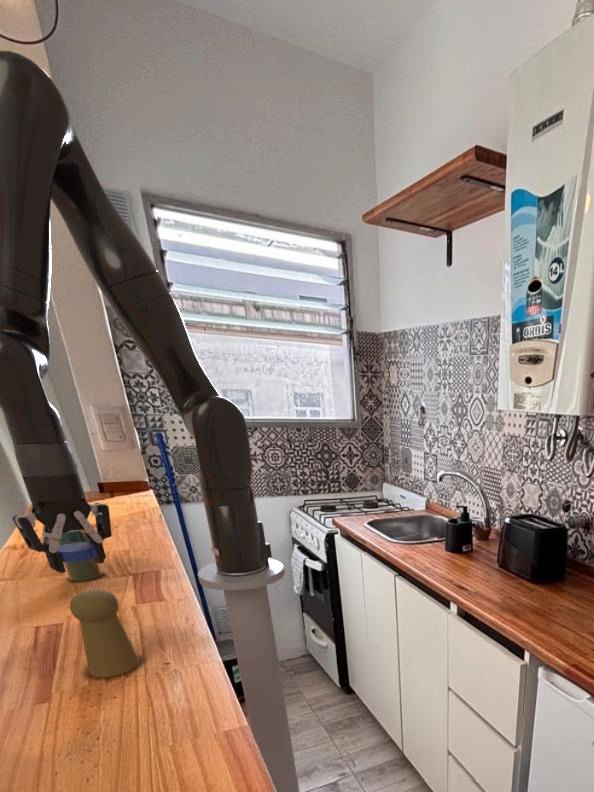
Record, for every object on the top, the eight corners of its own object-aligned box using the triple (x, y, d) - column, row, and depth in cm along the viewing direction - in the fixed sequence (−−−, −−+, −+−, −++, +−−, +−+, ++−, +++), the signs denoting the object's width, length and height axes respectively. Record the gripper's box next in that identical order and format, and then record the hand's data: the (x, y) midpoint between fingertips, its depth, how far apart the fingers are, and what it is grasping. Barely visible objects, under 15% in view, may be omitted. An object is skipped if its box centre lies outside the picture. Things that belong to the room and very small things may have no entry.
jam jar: (92, 570, 106) (77, 524, 101) (107, 575, 103) (92, 528, 99) (64, 578, 101) (47, 529, 97) (79, 583, 99) (62, 534, 95)
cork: (149, 659, 75) (129, 588, 70) (114, 680, 69) (89, 604, 64) (114, 653, 76) (92, 583, 71) (77, 673, 70) (50, 599, 65)
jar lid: (51, 562, 89) (47, 552, 88) (66, 552, 94) (63, 542, 93) (89, 561, 90) (86, 551, 90) (102, 551, 95) (99, 541, 95)
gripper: (83, 463, 93) (109, 553, 100) (-15, 473, 81) (23, 574, 89) (108, 468, 90) (133, 561, 97) (9, 478, 78) (46, 582, 86)
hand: (80, 566), depth 93 cm, fingers closed on jar lid, 5 cm apart
